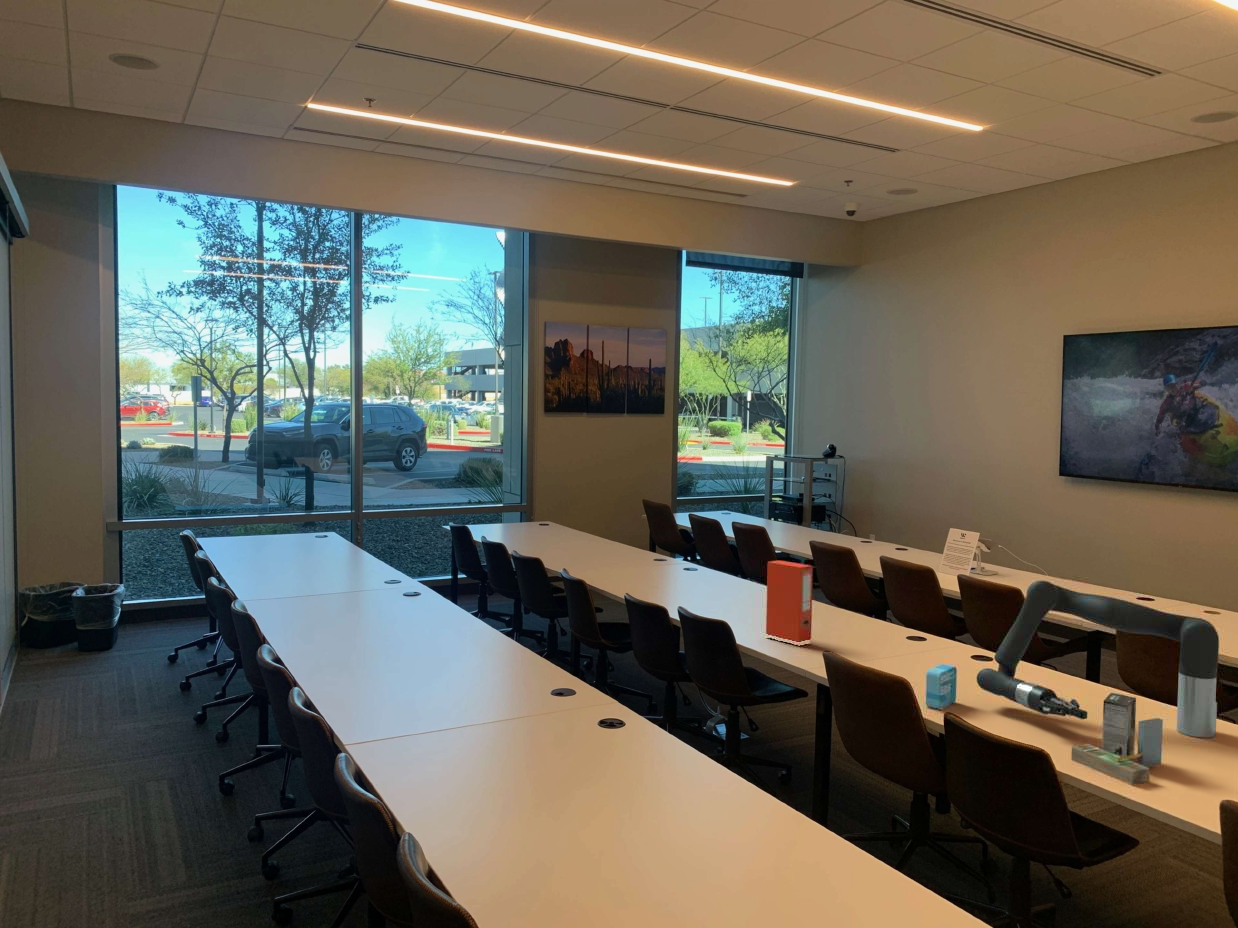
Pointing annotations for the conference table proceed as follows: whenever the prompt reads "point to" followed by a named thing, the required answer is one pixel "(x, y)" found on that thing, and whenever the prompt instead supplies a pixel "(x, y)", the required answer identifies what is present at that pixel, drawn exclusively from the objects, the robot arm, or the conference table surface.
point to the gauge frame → (1110, 764)
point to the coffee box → (1119, 724)
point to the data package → (941, 686)
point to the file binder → (789, 600)
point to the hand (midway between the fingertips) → (1085, 715)
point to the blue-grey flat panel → (1148, 743)
